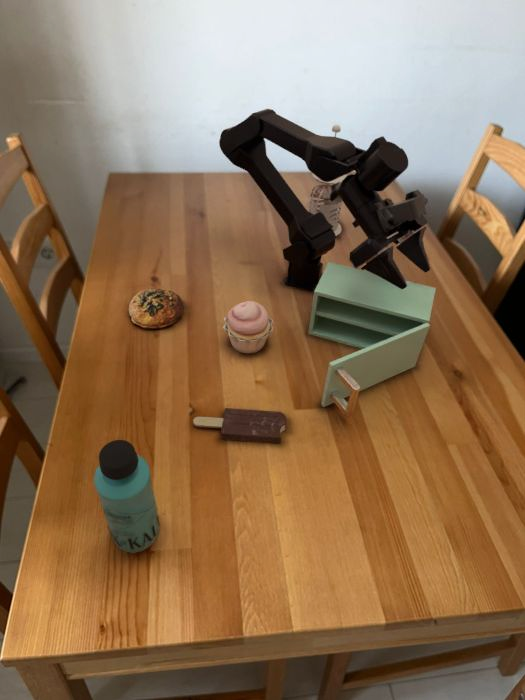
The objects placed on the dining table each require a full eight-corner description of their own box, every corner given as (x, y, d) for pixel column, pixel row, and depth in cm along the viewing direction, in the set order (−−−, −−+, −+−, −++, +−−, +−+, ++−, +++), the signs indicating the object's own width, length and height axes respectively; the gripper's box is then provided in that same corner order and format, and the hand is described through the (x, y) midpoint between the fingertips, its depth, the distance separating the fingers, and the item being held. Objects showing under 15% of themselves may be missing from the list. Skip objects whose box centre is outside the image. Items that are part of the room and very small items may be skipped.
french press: (348, 225, 129) (367, 124, 112) (327, 245, 122) (343, 141, 104) (314, 212, 133) (327, 113, 115) (291, 232, 126) (301, 129, 108)
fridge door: (434, 385, 92) (451, 343, 84) (341, 429, 84) (352, 387, 76) (411, 363, 95) (427, 322, 88) (320, 404, 87) (329, 362, 80)
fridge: (413, 363, 95) (429, 320, 88) (307, 334, 100) (314, 291, 92) (420, 329, 102) (436, 287, 95) (321, 303, 107) (328, 261, 99)
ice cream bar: (191, 437, 81) (285, 444, 81) (190, 431, 80) (286, 438, 80) (195, 411, 85) (285, 417, 85) (195, 405, 84) (286, 411, 84)
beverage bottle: (116, 515, 72) (88, 429, 57) (164, 512, 72) (148, 426, 58) (110, 561, 67) (78, 480, 53) (161, 558, 68) (144, 477, 53)
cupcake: (248, 319, 102) (249, 279, 95) (282, 343, 97) (286, 303, 90) (212, 341, 97) (211, 300, 90) (246, 367, 93) (247, 326, 86)
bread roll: (196, 311, 103) (191, 292, 99) (153, 343, 98) (146, 325, 94) (161, 288, 108) (155, 269, 104) (118, 317, 103) (111, 299, 99)
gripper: (371, 188, 78) (430, 273, 77) (424, 166, 90) (475, 239, 90) (326, 229, 86) (378, 306, 86) (379, 204, 98) (426, 271, 98)
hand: (416, 279), depth 90 cm, fingers open, 9 cm apart
